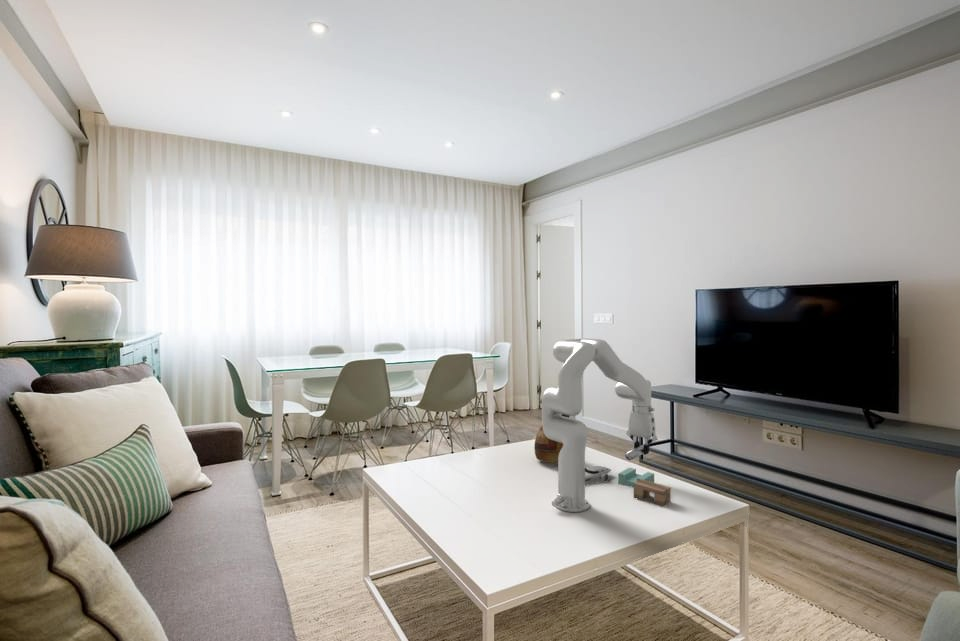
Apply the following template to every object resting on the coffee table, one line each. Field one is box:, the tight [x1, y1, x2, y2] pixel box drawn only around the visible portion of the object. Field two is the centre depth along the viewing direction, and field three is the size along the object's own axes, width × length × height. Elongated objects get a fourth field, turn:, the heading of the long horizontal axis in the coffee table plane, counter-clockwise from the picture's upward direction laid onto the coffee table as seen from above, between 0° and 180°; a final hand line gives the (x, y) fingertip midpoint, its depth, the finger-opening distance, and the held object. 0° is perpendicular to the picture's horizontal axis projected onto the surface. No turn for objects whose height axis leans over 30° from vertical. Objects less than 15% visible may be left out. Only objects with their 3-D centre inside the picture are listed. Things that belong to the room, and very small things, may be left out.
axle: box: [624, 444, 645, 461], centre depth 193 cm, size 14×3×3 cm, turn 136°
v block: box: [617, 467, 655, 488], centre depth 194 cm, size 10×11×4 cm
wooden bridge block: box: [633, 480, 672, 507], centre depth 177 cm, size 6×12×6 cm, turn 46°
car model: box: [585, 465, 612, 486], centre depth 198 cm, size 11×24×5 cm, turn 120°
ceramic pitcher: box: [534, 398, 570, 464], centre depth 221 cm, size 20×20×30 cm
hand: (641, 452), depth 197 cm, fingers closed on axle, 3 cm apart
